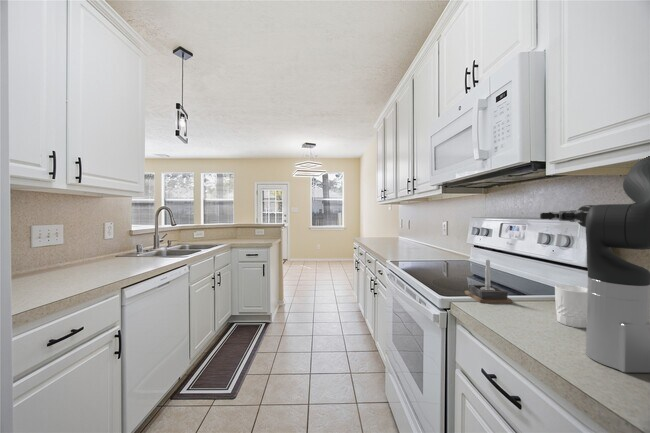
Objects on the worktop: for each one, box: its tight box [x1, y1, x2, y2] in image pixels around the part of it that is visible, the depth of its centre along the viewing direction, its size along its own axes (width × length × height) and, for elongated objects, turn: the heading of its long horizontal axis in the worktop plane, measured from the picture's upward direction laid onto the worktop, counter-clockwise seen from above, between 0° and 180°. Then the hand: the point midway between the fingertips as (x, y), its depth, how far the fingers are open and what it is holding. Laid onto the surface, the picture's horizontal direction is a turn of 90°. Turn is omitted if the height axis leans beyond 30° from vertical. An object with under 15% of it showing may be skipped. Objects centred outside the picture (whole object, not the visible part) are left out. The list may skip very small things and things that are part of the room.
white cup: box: [554, 284, 588, 329], centre depth 80 cm, size 8×8×10 cm
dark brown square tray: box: [464, 284, 513, 304], centre depth 103 cm, size 11×11×4 cm
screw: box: [480, 259, 495, 291], centre depth 103 cm, size 13×5×5 cm
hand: (550, 216), depth 95 cm, fingers open, 8 cm apart
